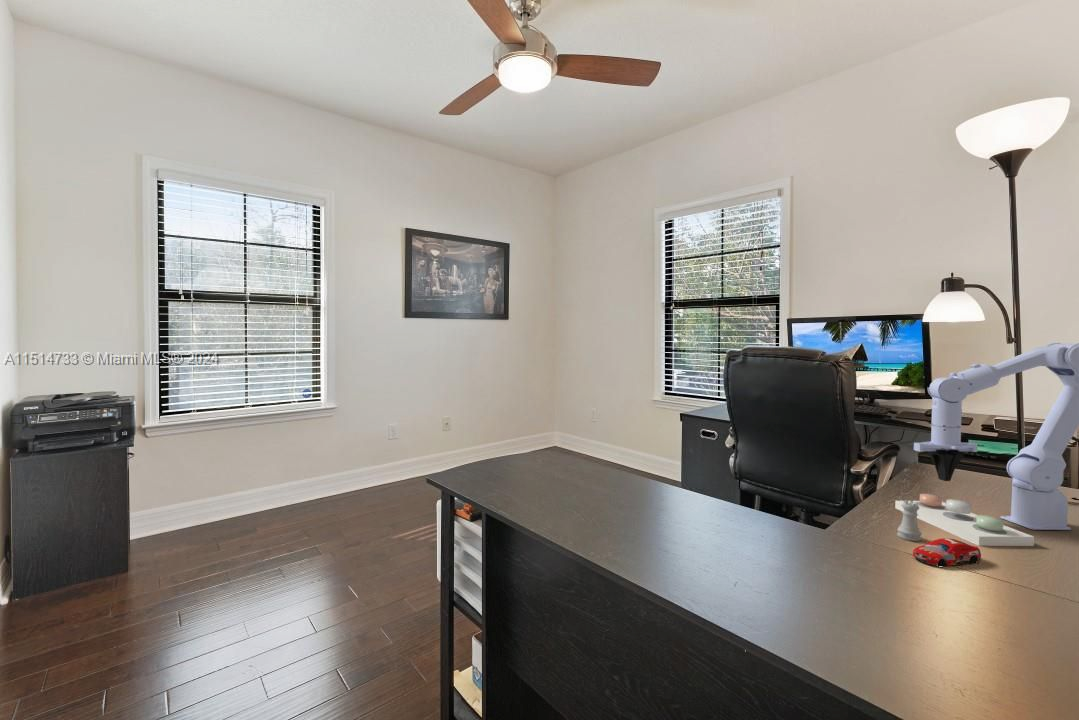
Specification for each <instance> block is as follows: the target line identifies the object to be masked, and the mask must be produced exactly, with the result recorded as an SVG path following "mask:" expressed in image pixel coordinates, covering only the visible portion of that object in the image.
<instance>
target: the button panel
mask: <svg viewBox="0 0 1079 720" xmlns="http://www.w3.org/2000/svg"><path fill="white" fill-rule="evenodd" d="M903 501H904V500H895V505H894V506H895V507H894V508H895V509H896V510H898V511H900V512H903V510H904V509H903V507H902V506H901V505H902V504H903ZM910 501H911V500H908V503H910ZM912 501H913V504H914V502H917V503H918V506H919V509H918V510H917V514H918V515H917V520H918V519H919V520H920V521H922V522H925V523H927V524H929V525H932V526H934V527H936V528H938V529H941V530H943V531H945V532H947V533H950V534H952V535H954V536H956V537H958V538H961V539H963V540H965V541H967V542H970V543H972V544H973V545H975V546H977V547H978V546H979V547H1034V546H1035V536H1034V535H1031V534H1029V533H1028V534H1027V533H1025V532H1023V531H1020V530H1017V529H1015V528H1012V527H1009V526H1007V525H1004V524H1003V531H990V530H986V529H982V528H980V527H978V526H976V518H977V516H978V514H977V513H973V512H971V513H970V514H962V513H956V512H952V511H949V510H947V509H946V502H944V501H942V506H941V507H932V506H927V505H923V504H921V503H920V500H912Z"/></svg>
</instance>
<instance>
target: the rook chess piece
mask: <svg viewBox="0 0 1079 720" xmlns="http://www.w3.org/2000/svg"><path fill="white" fill-rule="evenodd" d="M902 501H903V504H902V505H901V506H902V507H903V509H904V510H903V512H902V511H901V512H902V519H901V523H900V524H899V526H898V528H897V531H898V532H897V533H896V535H897V536H898V538H899V539H901V540H905V541H908V542H918V543H919V542H920V541H921V540H923V538H922V531H920V528H919V525H918V518H917V515H918V514H917V510H918V509H919V506H918V503H917V502H914V504H913V501H914V500H902ZM908 501H910V503H908Z"/></svg>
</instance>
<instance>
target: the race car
mask: <svg viewBox="0 0 1079 720" xmlns="http://www.w3.org/2000/svg"><path fill="white" fill-rule="evenodd" d="M912 556H914V557H915V558H914V557H913V558H914V559H916V560H917V559H918V560H917V561H919V560H920V562H921V563H924V562H925V564H927V563H928V565H930V564H932V565H931V566H935V565H936V566H935V567H937V565H938V566H945V567H946V566H947V567H951V566H958V565H967V564H970V565H973V564H975V565H976V564H977V563H979V562H980V561H981V560H982V553H981V550H980V548H979V547H978V546H977V545H975V544H971V543H968V542H965V541H963V540H962V541H961V540H958V539H955V538H949V537H943V538H937V539H933V540H931V541H926V544H924V545H920V546H916V547H914V549H913V551H912Z"/></svg>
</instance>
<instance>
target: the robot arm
mask: <svg viewBox="0 0 1079 720" xmlns="http://www.w3.org/2000/svg"><path fill="white" fill-rule="evenodd" d="M1037 367H1045V368H1047V369H1049V370H1050V371H1051V372H1052V373H1053V374H1054V375H1055V376H1057V377H1058V378H1059V380H1060V381H1061V383H1062V384H1063V388H1062V389H1061V391H1060V393H1059V394H1058V397H1057V398H1056V400H1055V402H1054V403H1053V405H1052V407H1051V409H1050V411H1049V412H1048V414H1047V415H1046V417H1045V419H1044V421H1043V423H1042V425H1041V426H1040V428H1039V430H1038V432H1037V433H1036V435H1035V437H1034V439H1033V440H1032V442H1031V444H1029V445H1027V446H1025V447H1023V448H1021V449H1020V450H1019V452H1018V453H1017V454H1016V455H1015V456H1014V457H1012V458H1011V459H1009V460H1008V461H1007V464H1006V472H1007V473H1008V475H1009V476H1010V477H1011V478H1012V482H1011V483H1012V485H1011V504H1010V505H1011V507H1010V515H1000V516H999V517H1000V518H999V519H1001V520H1005V521H1008V522H1010V523H1014V524H1015V525H1019V526H1022V527H1024V528H1027V529H1030V530H1036V531H1037V530H1047V531H1049V530H1050V531H1052V530H1054V531H1056V530H1057V531H1059V530H1060V531H1070V530H1071V529H1072V528H1071V527H1070V526H1067V525H1068V507H1069V502H1068V498H1067V496H1066V494H1065V493H1064V492H1063V491H1061V490H1060V489H1058V488H1059V487H1061V486H1062V484H1063V482H1064V471H1065V469H1066V467H1067V463H1066V462H1065V459H1064V457H1063V454H1064V452H1065V450H1066V449H1067V447H1068V445H1069V443H1070V442H1071V439H1072V438H1073V436H1074V435H1075V433H1076V432H1077V429H1078V428H1079V343H1078V342H1077V343H1059V342H1054V343H1049V344H1047V345H1045V346H1038V347H1034V348H1032V349H1031V350H1029V351H1026V352H1024V353H1022V354H1019V355H1016V356H1014V357H1010V358H1009V359H1006V360H1003V361H1001V362H998V363H996V364H993V365H989V364H985V363H982V364H980V363H973V364H971V365H970V368H967V369H965V370H962V371H960V372H951V373H949V377H943V376H942V377H938V378H935V379H933V380H932V382H931V383H930V384H929V387H927V393H928V395H930V397H931V398H932V401H931V402H932V403H931V425H930V426H931V427H930V429H931V431H930V433H931V435H930V441H922V442H913V451H916V452H919V453H923V452H927V455H929V457H930V459H931V460H932V463H933V465H934V467H935V470H936V474H937V478H938V480H941V481H944V482H950V481H951V479H952V477H953V475H954V472H955V469H956V468H957V466H958V464H959V463H960V462H961V460H963V459H964V453H962V452H972V453H978V444H977V443H975V442H974V443H973V442H962V441H961V440H962V438H961V436H962V407H963V404H962V403H963V401H964V400H965V399H966V398H967V396H969V395H972V394H975V393H978V392H980V391H983V390H987V389H988V388H993V387H994V386H998V384H999V382H1000V380H1001V379H1002V378H1005V377H1009V376H1011V375H1015V374H1018V373H1021V372H1022V373H1023V372H1024V371H1028V370H1030V369H1034V368H1037Z"/></svg>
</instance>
